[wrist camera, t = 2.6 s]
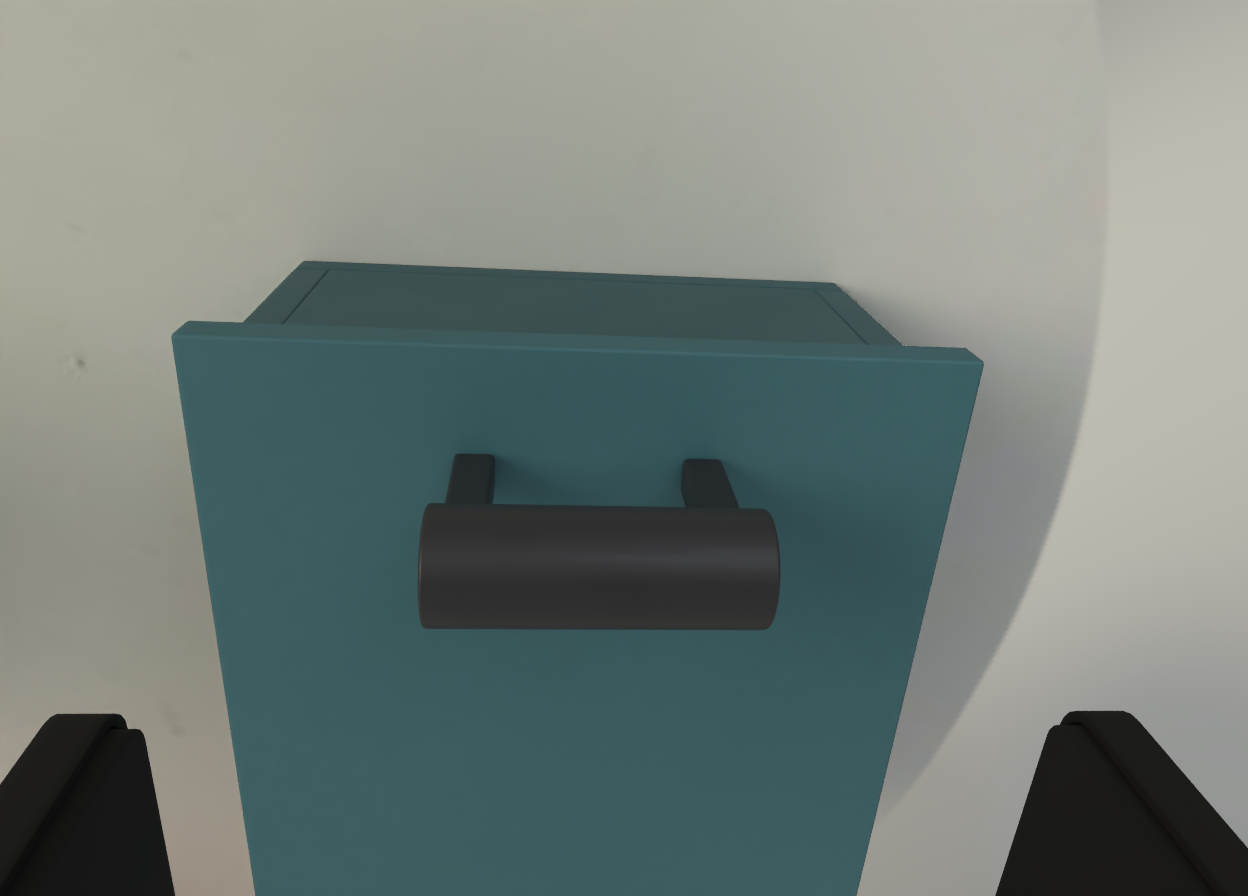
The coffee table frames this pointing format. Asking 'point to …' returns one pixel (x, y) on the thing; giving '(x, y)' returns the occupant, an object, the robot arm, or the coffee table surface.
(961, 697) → the coffee table surface
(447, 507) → the cool box lid
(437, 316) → the cool box
